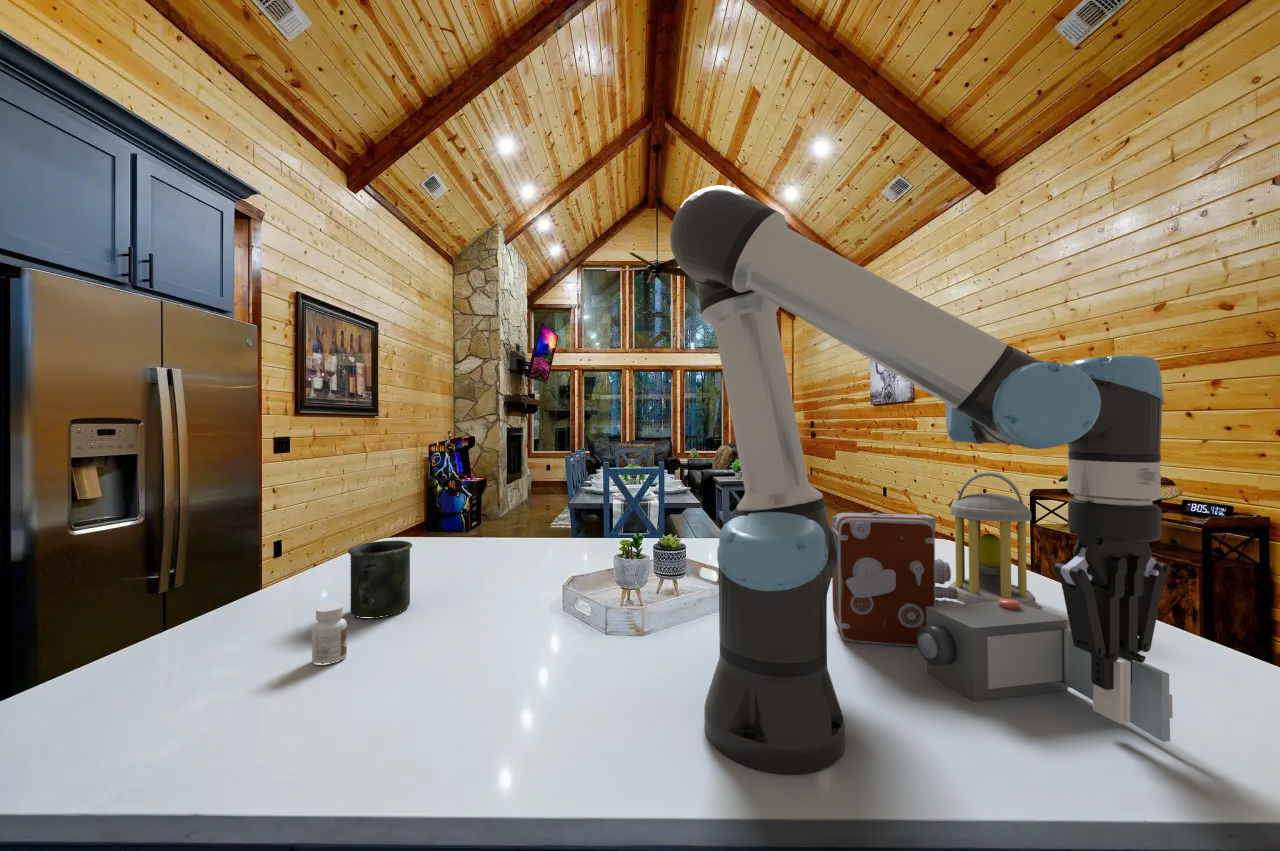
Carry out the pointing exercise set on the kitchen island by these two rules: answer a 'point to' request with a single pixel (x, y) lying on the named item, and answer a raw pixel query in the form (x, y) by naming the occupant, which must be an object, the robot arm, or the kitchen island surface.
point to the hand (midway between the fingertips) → (1111, 716)
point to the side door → (1145, 691)
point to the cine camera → (886, 577)
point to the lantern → (990, 546)
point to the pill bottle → (329, 634)
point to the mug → (380, 578)
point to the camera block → (994, 649)
